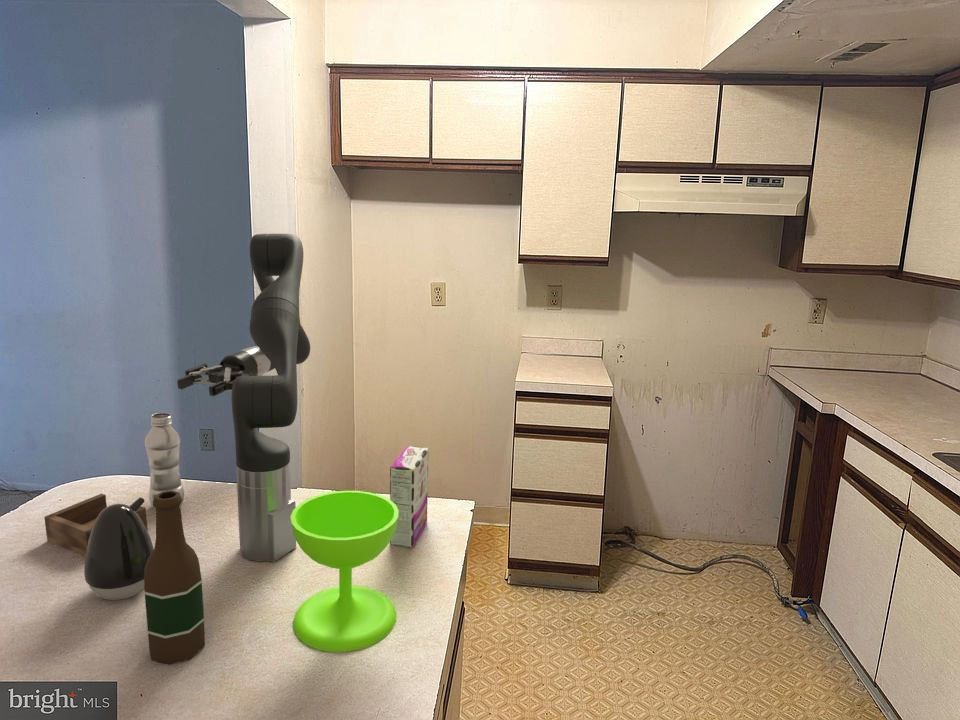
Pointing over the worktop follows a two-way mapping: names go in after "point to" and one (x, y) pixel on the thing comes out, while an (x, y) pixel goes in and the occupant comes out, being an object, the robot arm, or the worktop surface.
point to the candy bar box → (409, 494)
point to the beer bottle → (173, 588)
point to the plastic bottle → (163, 456)
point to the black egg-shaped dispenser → (117, 552)
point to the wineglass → (344, 568)
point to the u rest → (78, 523)
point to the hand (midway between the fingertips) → (194, 388)
